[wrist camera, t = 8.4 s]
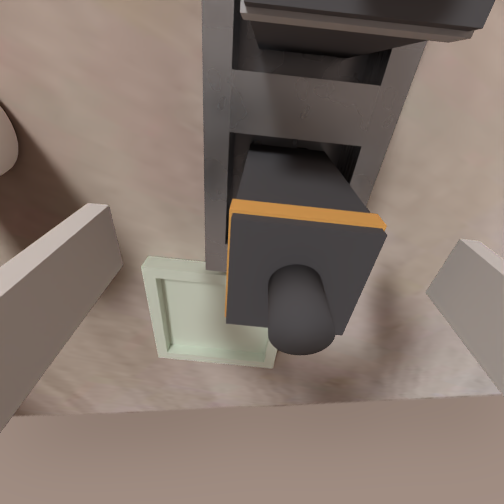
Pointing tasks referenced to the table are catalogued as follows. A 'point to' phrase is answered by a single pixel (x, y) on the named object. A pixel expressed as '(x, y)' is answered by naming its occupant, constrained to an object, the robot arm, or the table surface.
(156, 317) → the tray
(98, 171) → the table surface
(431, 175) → the table surface
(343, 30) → the twin plug
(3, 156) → the cup
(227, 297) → the plug
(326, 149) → the strip
